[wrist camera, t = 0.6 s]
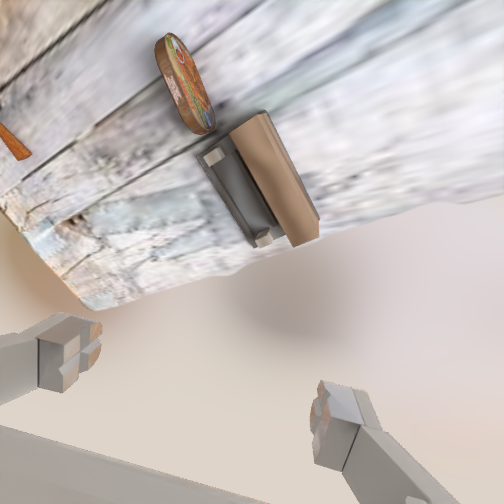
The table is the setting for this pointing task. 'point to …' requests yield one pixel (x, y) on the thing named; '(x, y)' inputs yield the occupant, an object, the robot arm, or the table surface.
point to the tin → (184, 84)
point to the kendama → (14, 144)
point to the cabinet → (261, 184)
